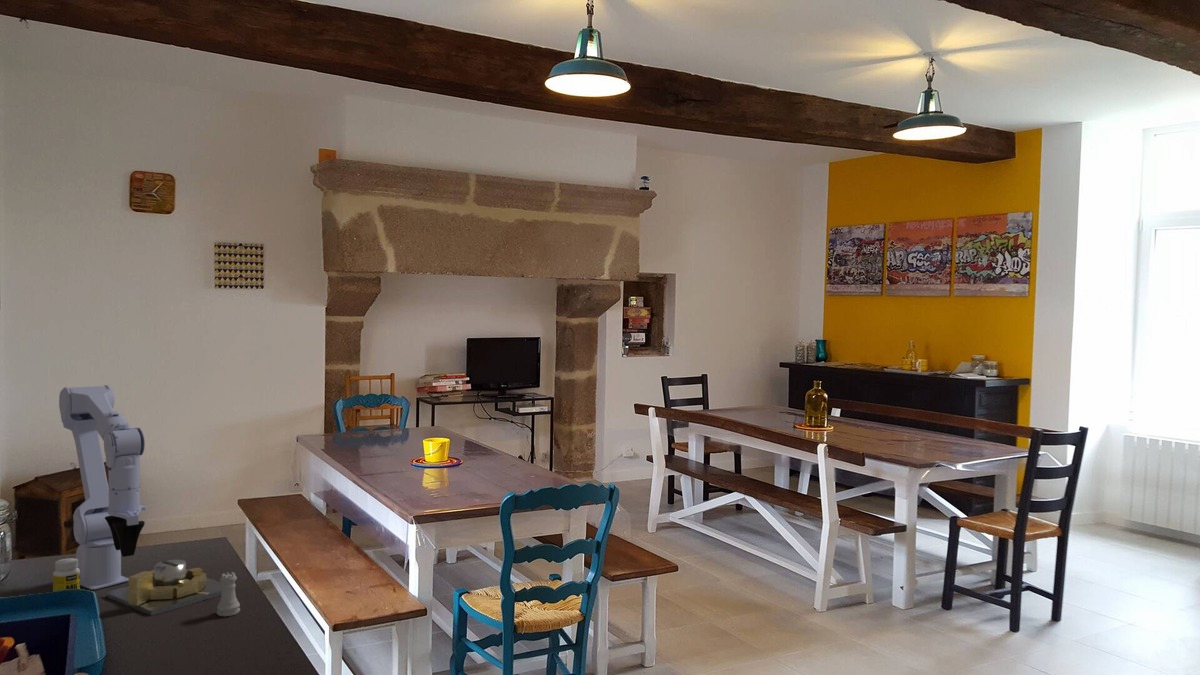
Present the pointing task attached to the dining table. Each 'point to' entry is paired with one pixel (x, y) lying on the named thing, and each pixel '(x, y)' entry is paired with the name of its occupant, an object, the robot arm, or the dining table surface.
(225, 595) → the rook chess piece
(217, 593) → the flange plate
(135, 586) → the tan hexagonal frame
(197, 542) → the dining table surface
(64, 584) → the supplement bottle
